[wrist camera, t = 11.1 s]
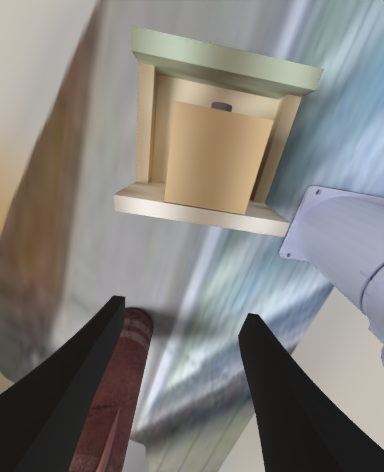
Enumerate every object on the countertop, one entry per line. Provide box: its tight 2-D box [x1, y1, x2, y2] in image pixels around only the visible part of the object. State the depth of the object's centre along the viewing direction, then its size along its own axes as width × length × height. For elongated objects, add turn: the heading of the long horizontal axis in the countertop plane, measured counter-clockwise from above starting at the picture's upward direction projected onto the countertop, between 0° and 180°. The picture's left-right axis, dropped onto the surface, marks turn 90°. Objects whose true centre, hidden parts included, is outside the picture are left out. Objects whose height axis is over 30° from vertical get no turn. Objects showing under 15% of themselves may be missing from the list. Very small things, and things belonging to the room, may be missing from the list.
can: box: [68, 308, 153, 472], centre depth 19 cm, size 6×6×14 cm
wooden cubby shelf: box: [114, 26, 324, 237], centre depth 12 cm, size 11×10×7 cm
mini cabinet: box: [164, 100, 274, 215], centre depth 12 cm, size 5×6×6 cm
